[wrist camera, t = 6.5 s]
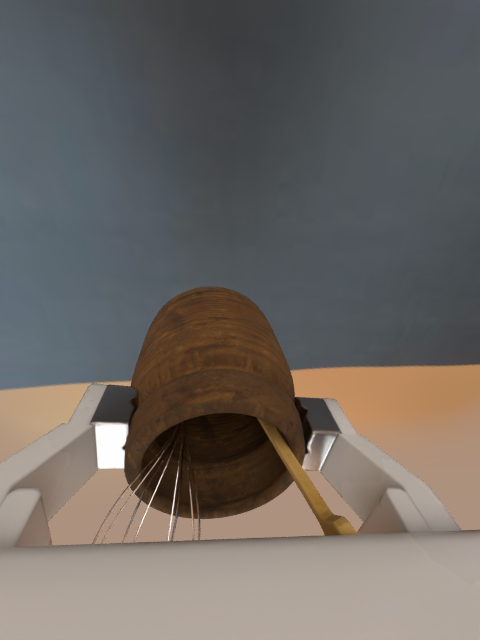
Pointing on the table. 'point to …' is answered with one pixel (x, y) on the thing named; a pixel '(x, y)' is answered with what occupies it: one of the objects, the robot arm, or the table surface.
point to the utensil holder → (215, 415)
